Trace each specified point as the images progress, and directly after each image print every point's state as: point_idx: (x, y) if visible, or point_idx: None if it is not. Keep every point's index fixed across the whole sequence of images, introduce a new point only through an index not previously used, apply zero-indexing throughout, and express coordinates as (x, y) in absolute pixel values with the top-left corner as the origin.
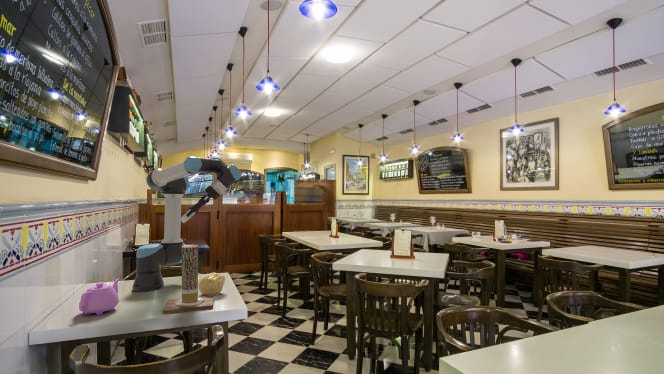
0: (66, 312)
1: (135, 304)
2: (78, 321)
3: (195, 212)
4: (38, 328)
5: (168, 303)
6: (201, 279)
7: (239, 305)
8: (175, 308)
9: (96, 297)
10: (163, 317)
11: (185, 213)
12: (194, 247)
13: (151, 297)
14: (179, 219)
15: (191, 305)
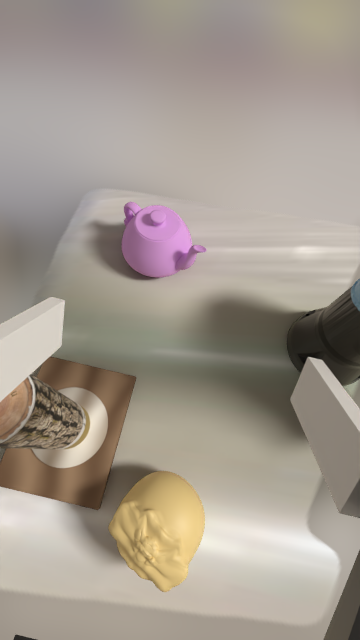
0: (186, 214)
1: (171, 314)
2: (111, 230)
3: (338, 503)
4: (111, 190)
5: (98, 374)
6: (161, 482)
7: None
8: None
9: (126, 228)
10: None
11: (3, 322)
12: None
13: (218, 348)
14: (51, 299)
15: None
